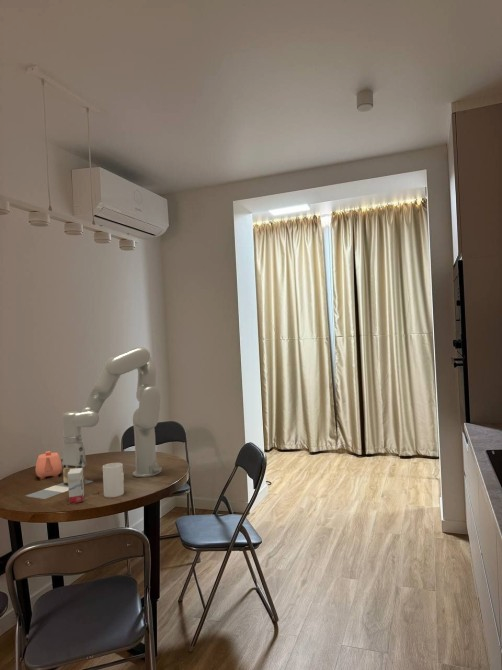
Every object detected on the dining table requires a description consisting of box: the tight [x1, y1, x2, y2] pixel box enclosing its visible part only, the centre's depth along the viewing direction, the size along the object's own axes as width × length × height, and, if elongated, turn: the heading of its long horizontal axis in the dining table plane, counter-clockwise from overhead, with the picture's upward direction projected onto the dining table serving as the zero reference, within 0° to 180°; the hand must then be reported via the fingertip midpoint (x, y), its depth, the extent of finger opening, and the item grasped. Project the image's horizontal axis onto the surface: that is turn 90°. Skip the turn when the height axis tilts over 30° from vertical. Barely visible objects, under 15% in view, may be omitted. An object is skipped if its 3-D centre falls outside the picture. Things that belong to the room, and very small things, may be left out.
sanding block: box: [62, 466, 85, 485], centre depth 211 cm, size 5×7×7 cm
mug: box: [102, 462, 125, 498], centre depth 198 cm, size 8×12×12 cm
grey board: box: [25, 479, 94, 500], centre depth 205 cm, size 12×26×1 cm, turn 152°
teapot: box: [35, 450, 63, 481], centre depth 229 cm, size 20×12×12 cm, turn 22°
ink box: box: [68, 468, 85, 505], centre depth 191 cm, size 9×5×12 cm, turn 13°
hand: (74, 480), depth 212 cm, fingers closed on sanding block, 4 cm apart
